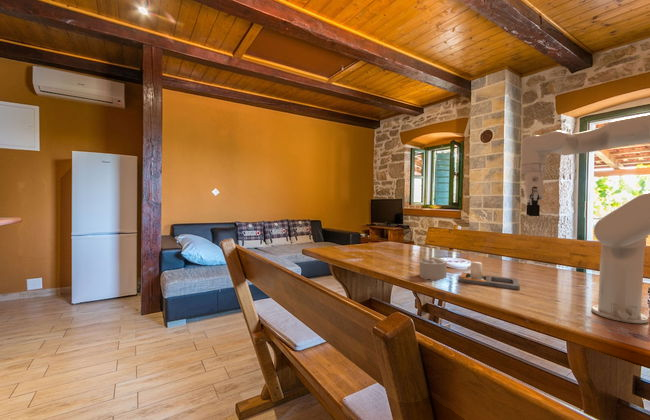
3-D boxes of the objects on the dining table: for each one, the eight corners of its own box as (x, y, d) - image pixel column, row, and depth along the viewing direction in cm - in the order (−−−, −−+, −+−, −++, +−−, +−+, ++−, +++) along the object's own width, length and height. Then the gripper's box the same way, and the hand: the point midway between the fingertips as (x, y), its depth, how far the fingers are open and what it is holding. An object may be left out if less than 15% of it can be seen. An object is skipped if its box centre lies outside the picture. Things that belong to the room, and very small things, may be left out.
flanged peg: (483, 283, 128) (483, 264, 128) (467, 281, 131) (468, 263, 131) (483, 280, 134) (484, 262, 133) (469, 278, 137) (469, 260, 136)
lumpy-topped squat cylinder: (449, 276, 139) (449, 258, 138) (435, 281, 130) (435, 262, 130) (428, 272, 147) (429, 255, 146) (414, 276, 138) (414, 258, 138)
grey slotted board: (519, 290, 119) (519, 285, 119) (459, 281, 130) (459, 278, 130) (517, 282, 130) (517, 278, 130) (462, 275, 141) (462, 271, 141)
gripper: (549, 166, 102) (548, 216, 102) (543, 171, 117) (542, 215, 117) (523, 167, 106) (522, 216, 106) (520, 172, 121) (519, 214, 121)
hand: (532, 215), depth 112 cm, fingers open, 9 cm apart
